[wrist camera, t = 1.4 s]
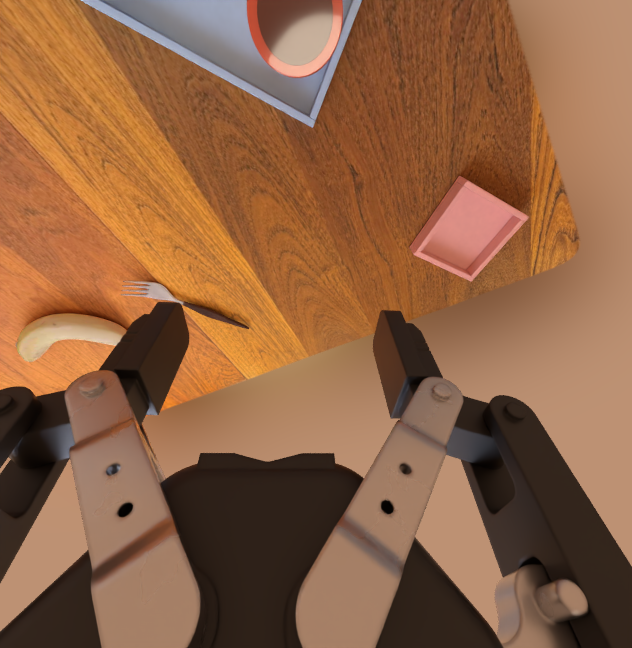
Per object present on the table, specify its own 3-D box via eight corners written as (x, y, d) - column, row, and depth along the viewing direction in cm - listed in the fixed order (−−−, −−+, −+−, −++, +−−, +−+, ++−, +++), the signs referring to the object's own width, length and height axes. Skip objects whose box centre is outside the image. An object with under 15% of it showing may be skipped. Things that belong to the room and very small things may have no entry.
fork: (246, 332, 43) (244, 341, 42) (127, 287, 38) (120, 296, 37) (253, 319, 42) (251, 328, 40) (130, 271, 37) (123, 279, 35)
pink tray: (459, 175, 31) (467, 180, 29) (519, 210, 34) (529, 216, 32) (408, 247, 36) (413, 254, 34) (464, 273, 38) (471, 281, 37)
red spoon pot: (276, -40, 21) (264, -90, 15) (346, 8, 23) (361, -19, 17) (252, 56, 24) (234, 47, 18) (314, 92, 26) (318, 96, 20)
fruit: (3, 313, 40) (-18, 329, 38) (113, 304, 40) (99, 319, 37) (39, 351, 45) (22, 368, 42) (138, 343, 44) (127, 360, 42)
